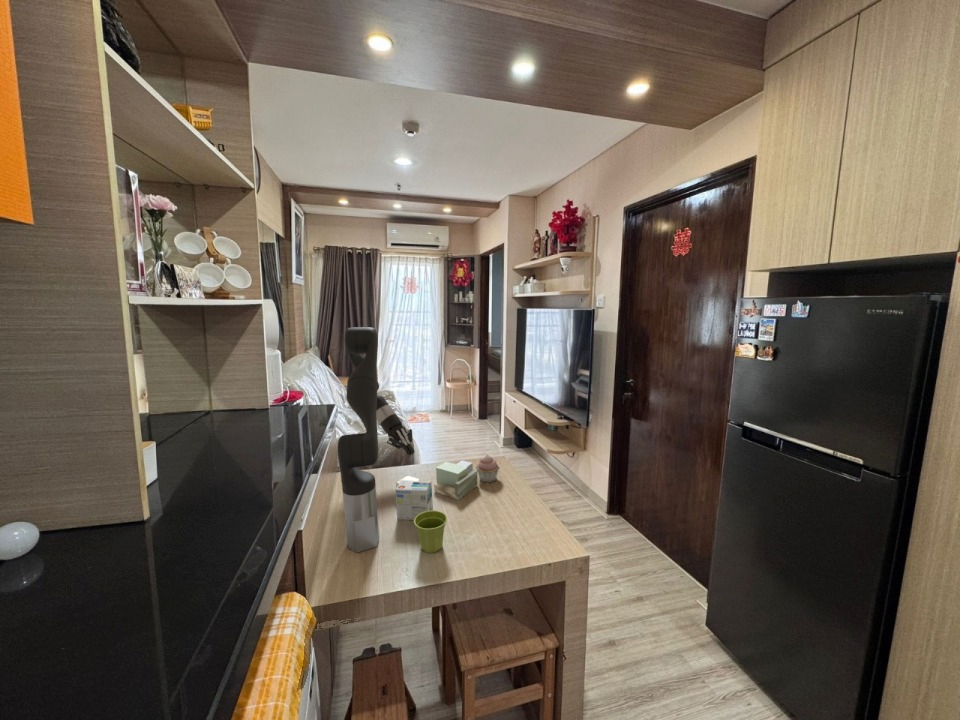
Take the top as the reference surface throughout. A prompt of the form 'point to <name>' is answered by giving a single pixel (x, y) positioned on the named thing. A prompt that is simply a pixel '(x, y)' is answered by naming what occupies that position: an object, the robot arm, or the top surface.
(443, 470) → the sage block
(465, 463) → the grey-blue block
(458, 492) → the birch bay
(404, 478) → the cream block
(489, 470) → the cupcake
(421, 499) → the light bulb box
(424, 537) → the plant pot
